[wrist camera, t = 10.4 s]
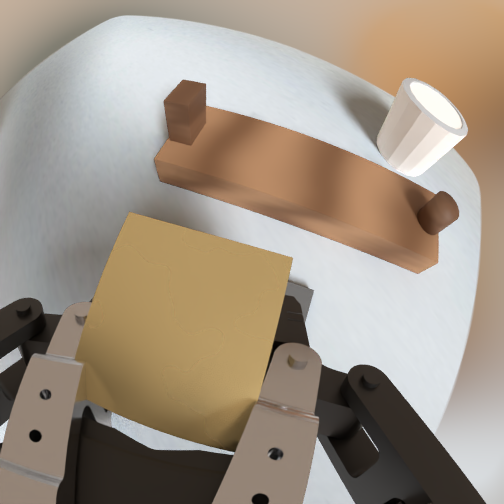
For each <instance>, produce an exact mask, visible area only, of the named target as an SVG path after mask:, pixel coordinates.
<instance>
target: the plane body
mask: <svg viewBox="0 0 504 504" xmlns="http://www.w3.org/2000/svg"><path fill="white" fill-rule="evenodd" d="M164 107H165V114H166V120H167V127H168V133H169V138H168V139H167V141H166V142H165V144H164V145H163V147H162V148H161V149H160V151H159V152H158V154H157V155H156V157H155V158H154V161H155V164H156V168H157V172H158V176H159V179H160V181H161V182H164V183H167V184H171V185H174V186H177V187H180V188H184V189H187V190H190V191H193V192H196V193H199V194H202V195H206V196H209V197H212V198H215V199H218V200H221V201H224V202H227V203H230V204H233V205H236V206H239V207H242V208H245V209H248V210H251V211H254V212H257V213H259V214H262V215H265V216H268V217H271V218H274V219H277V220H279V221H282V222H285V223H288V224H291V225H293V226H296V227H299V228H302V229H304V230H307V231H310V232H313V233H315V234H318V235H321V236H323V237H326V238H329V239H331V240H334V241H337V242H339V243H342V244H345V245H347V246H350V247H352V248H355V249H358V250H360V251H363V252H365V253H368V254H370V255H373V256H375V257H378V258H380V259H383V260H385V261H388V262H390V263H393V264H395V265H398V266H400V267H402V268H405V269H407V270H410V271H412V272H415V273H417V274H419V273H420V272H422V271H424V270H426V269H428V268H430V267H432V266H433V265H435V264H437V263H438V233H439V232H440V231H442V230H443V229H444V228H446V227H447V226H449V225H450V224H451V223H453V222H454V221H455V220H457V219H458V217H459V209H458V206H457V204H456V202H455V200H454V199H453V198H452V197H451V196H450V195H449V194H448V193H446V192H444V191H440V192H438V193H437V194H434V193H432V192H430V191H429V190H427V189H425V188H423V187H421V186H420V185H418V184H416V183H414V182H412V181H410V180H408V179H406V178H404V177H402V176H400V175H398V174H396V173H394V172H392V171H390V170H388V169H386V168H384V167H382V166H380V165H378V164H375V163H373V162H371V161H369V160H367V159H364V158H362V157H360V156H357V155H355V154H353V153H350V152H348V151H346V150H343V149H341V148H338V147H336V146H333V145H331V144H328V143H326V142H323V141H321V140H318V139H315V138H313V137H310V136H307V135H304V134H301V133H299V132H296V131H293V130H290V129H287V128H284V127H281V126H278V125H275V124H271V123H268V122H265V121H262V120H258V119H255V118H251V117H248V116H244V115H241V114H237V113H233V112H229V111H225V110H221V109H217V108H213V107H209V106H206V84H204V83H199V82H194V81H188V80H182V81H181V82H180V83H179V84H178V85H177V87H176V88H175V89H174V90H173V91H172V92H171V93H170V94H169V95H168V97H167V98H166V99H165V100H164Z"/></svg>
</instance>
